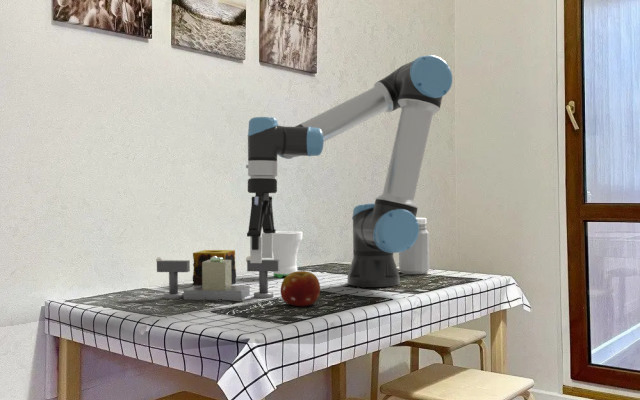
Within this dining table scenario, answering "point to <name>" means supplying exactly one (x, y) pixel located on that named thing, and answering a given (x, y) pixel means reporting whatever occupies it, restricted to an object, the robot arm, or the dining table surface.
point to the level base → (216, 293)
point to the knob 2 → (263, 275)
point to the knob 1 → (173, 274)
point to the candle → (207, 255)
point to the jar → (416, 253)
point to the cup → (286, 251)
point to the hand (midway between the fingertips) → (261, 260)
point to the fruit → (300, 288)
